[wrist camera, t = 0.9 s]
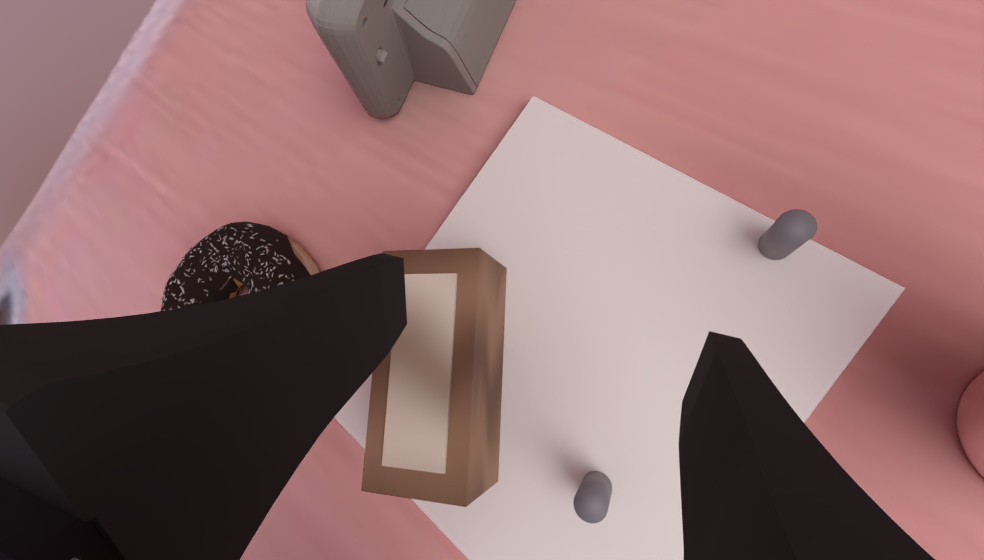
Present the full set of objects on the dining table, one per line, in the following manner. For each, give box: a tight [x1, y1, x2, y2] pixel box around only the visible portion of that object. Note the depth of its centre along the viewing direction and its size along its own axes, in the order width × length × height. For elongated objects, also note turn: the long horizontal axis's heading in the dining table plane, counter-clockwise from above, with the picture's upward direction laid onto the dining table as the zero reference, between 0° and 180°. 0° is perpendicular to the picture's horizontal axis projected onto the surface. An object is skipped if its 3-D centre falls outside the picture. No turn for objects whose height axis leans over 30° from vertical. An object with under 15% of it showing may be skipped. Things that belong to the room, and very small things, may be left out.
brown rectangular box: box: [361, 248, 507, 507], centre depth 22 cm, size 11×5×5 cm, turn 178°
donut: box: [161, 222, 319, 311], centre depth 29 cm, size 11×12×4 cm
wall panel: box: [334, 96, 905, 560], centre depth 22 cm, size 22×20×4 cm
